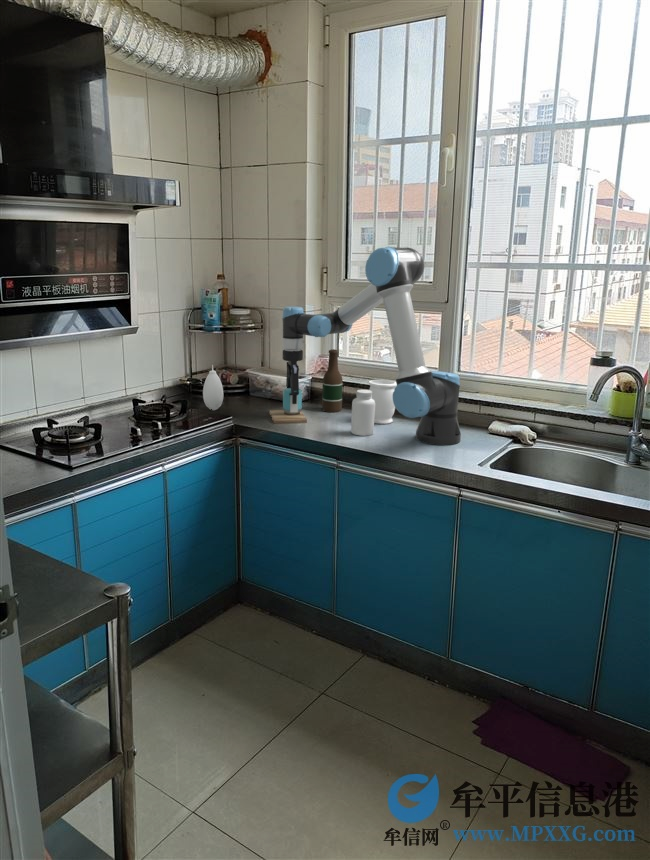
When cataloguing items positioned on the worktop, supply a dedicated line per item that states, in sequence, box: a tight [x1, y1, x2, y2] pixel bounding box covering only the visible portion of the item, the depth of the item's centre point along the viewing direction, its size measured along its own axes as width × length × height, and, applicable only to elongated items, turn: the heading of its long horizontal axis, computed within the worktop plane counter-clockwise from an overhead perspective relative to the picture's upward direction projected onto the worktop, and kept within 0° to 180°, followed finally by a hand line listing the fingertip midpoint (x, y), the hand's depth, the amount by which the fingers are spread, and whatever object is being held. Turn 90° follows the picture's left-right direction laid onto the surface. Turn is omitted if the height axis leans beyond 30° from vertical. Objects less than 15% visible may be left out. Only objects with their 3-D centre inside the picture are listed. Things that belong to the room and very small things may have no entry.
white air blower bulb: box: [202, 364, 224, 411], centre depth 257 cm, size 8×8×18 cm
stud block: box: [268, 408, 308, 424], centre depth 249 cm, size 16×12×9 cm
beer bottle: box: [321, 349, 344, 413], centre depth 260 cm, size 8×8×24 cm
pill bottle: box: [350, 389, 375, 437], centre depth 230 cm, size 8×8×15 cm
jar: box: [368, 379, 397, 425], centre depth 246 cm, size 11×10×15 cm
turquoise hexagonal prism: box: [282, 387, 303, 410], centre depth 251 cm, size 7×7×7 cm
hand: (292, 409), depth 252 cm, fingers open, 8 cm apart
